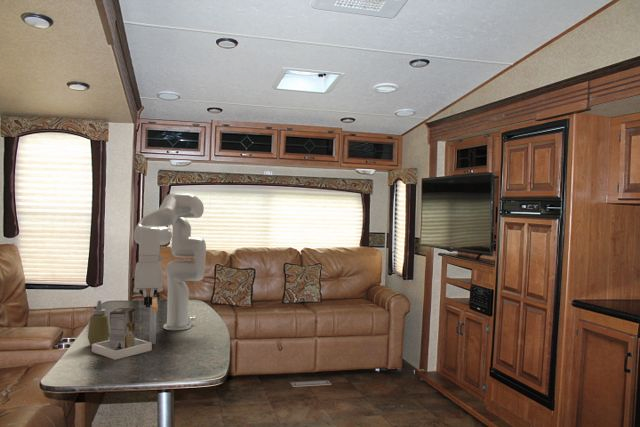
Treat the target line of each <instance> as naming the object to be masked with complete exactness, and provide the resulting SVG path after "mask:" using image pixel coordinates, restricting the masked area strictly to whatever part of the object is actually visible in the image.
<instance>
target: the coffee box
mask: <svg viewBox="0 0 640 427" xmlns="http://www.w3.org/2000/svg"><path fill="white" fill-rule="evenodd" d="M135 319H136V308H135V307H118V308H116V309H114V310H112V311H110V312H109V339H108V340H109V349H113V350H116V351H117V350H121V349H125V348H129V347H133V346H134V338H135V332H136V331H135V328H136V325H135V324H136V323H135V322H136V320H135Z"/></svg>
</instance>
